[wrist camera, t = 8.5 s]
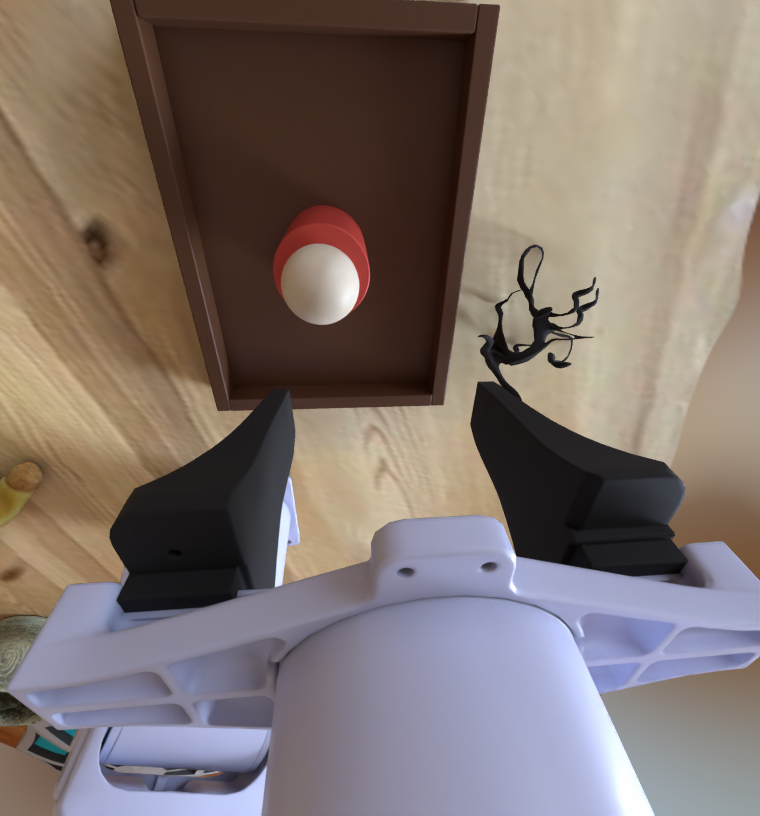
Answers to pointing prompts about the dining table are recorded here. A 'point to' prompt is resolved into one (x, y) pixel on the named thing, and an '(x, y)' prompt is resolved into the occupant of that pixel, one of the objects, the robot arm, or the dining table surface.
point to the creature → (497, 346)
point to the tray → (315, 179)
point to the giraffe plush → (17, 490)
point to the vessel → (16, 666)
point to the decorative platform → (56, 747)
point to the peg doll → (322, 265)
